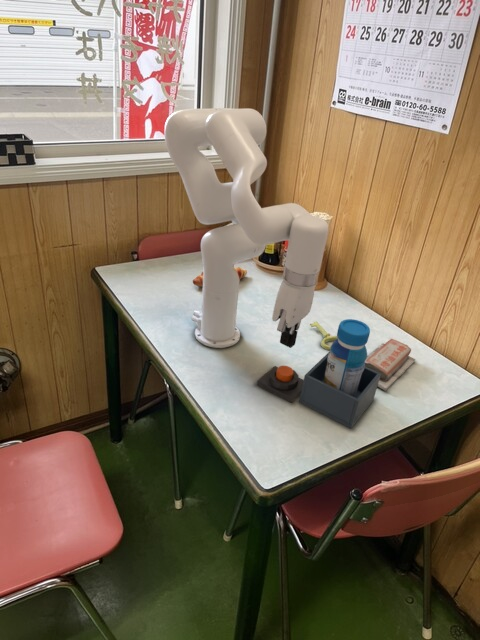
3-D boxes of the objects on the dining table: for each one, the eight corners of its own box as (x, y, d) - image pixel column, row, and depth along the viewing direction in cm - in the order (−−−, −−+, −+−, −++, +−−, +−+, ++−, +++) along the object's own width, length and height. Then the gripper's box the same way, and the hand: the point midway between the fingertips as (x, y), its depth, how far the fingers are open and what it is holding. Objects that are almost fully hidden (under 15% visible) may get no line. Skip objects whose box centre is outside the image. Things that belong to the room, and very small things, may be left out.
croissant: (240, 281, 171) (235, 259, 170) (256, 280, 162) (252, 256, 161) (188, 293, 159) (183, 270, 158) (203, 292, 151) (198, 267, 150)
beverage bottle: (352, 413, 109) (372, 341, 99) (316, 403, 111) (332, 331, 101) (357, 391, 116) (376, 321, 106) (323, 382, 118) (338, 313, 108)
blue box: (299, 401, 113) (304, 375, 109) (324, 376, 122) (329, 350, 118) (351, 428, 107) (358, 401, 102) (373, 399, 116) (381, 373, 112)
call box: (256, 384, 117) (258, 374, 115) (274, 370, 123) (275, 359, 121) (291, 403, 112) (293, 392, 111) (308, 386, 118) (310, 376, 116)
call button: (272, 377, 115) (273, 371, 114) (281, 369, 118) (282, 363, 117) (286, 384, 114) (288, 378, 113) (295, 376, 116) (296, 370, 115)
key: (314, 326, 143) (315, 320, 141) (348, 345, 135) (349, 339, 134) (298, 334, 138) (299, 327, 137) (332, 354, 131) (334, 347, 130)
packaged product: (385, 332, 133) (419, 348, 128) (381, 347, 136) (414, 362, 131) (354, 358, 121) (390, 376, 116) (350, 374, 124) (385, 392, 119)
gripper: (302, 258, 109) (289, 325, 119) (267, 279, 98) (256, 351, 108) (332, 269, 105) (316, 337, 115) (298, 293, 95) (284, 365, 105)
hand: (287, 343), depth 112 cm, fingers closed
